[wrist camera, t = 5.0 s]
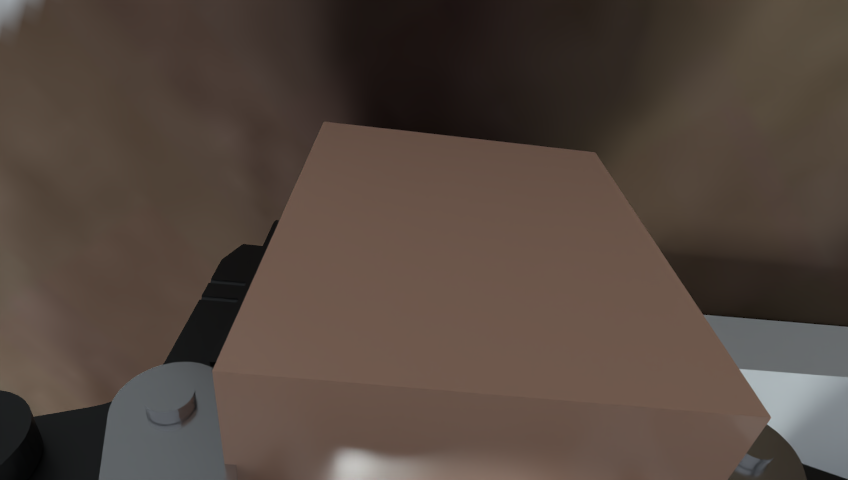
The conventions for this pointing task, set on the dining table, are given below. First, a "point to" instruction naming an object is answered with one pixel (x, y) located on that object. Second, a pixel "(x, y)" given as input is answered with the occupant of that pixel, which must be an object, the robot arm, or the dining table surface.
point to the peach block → (472, 327)
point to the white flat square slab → (796, 382)
